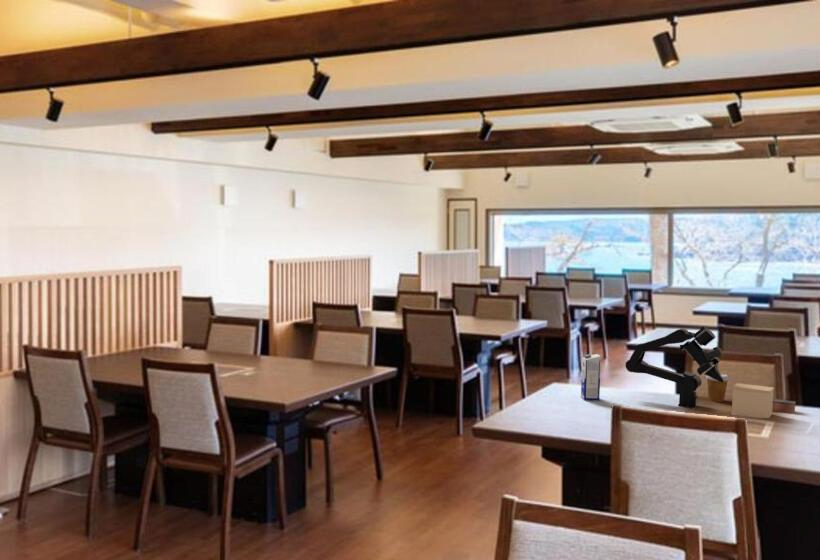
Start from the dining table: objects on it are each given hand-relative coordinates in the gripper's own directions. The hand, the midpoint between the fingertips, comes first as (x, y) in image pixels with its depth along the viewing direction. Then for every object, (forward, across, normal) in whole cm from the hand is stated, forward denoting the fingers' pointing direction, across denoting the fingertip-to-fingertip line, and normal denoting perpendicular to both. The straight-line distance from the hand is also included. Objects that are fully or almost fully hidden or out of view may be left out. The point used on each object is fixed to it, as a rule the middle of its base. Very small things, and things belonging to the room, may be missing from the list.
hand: (722, 381), depth 328 cm
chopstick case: (+20, +15, -3) cm, 25 cm away
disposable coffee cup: (+5, +19, +13) cm, 24 cm away
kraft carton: (+17, 0, 0) cm, 17 cm away
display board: (+21, 0, -3) cm, 21 cm away
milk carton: (-28, -13, +47) cm, 56 cm away
